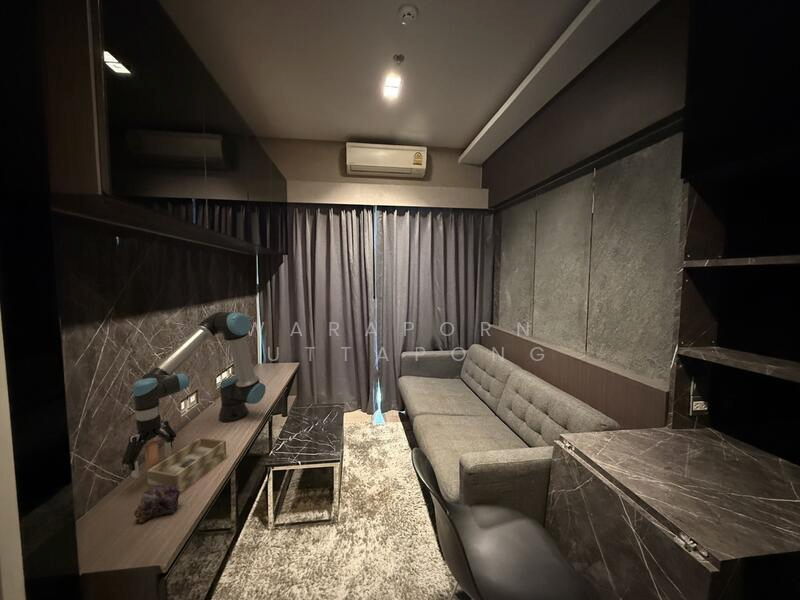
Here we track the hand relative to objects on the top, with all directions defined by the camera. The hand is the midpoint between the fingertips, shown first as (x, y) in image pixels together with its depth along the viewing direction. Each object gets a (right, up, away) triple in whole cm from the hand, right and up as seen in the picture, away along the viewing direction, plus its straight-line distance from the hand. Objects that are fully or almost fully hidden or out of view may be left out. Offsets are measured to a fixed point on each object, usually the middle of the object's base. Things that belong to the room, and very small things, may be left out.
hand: (152, 466), depth 123 cm
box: (+13, -5, +4) cm, 14 cm away
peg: (0, -5, +1) cm, 5 cm away
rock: (+17, -7, -17) cm, 25 cm away
